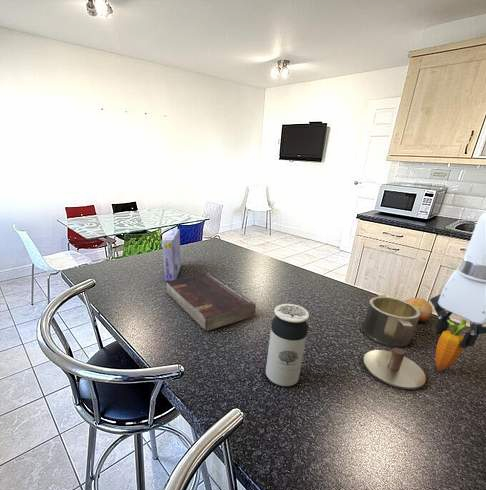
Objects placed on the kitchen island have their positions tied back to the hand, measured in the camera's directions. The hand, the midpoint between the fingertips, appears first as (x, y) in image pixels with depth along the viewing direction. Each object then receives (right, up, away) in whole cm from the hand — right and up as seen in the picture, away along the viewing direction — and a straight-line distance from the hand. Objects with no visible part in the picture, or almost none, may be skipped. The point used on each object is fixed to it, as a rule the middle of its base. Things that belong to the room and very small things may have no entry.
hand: (452, 338), depth 70 cm
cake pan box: (-75, +16, +58) cm, 96 cm away
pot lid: (-12, -8, +3) cm, 15 cm away
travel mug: (-41, -9, +1) cm, 42 cm away
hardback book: (-59, +5, +33) cm, 68 cm away
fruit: (+9, +1, +27) cm, 28 cm away
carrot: (0, -9, +4) cm, 10 cm away
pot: (-5, -3, +18) cm, 19 cm away
